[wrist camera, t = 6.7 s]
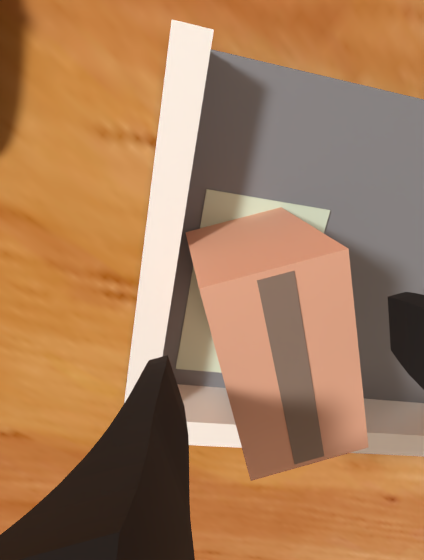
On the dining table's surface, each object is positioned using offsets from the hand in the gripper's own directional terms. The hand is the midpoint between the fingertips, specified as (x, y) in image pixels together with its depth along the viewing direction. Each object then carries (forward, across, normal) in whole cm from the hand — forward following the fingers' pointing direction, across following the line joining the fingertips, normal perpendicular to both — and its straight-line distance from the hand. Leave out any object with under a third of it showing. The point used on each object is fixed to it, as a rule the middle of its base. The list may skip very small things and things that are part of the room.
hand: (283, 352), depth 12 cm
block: (+5, 0, 0) cm, 5 cm away
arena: (+6, -3, 0) cm, 7 cm away
